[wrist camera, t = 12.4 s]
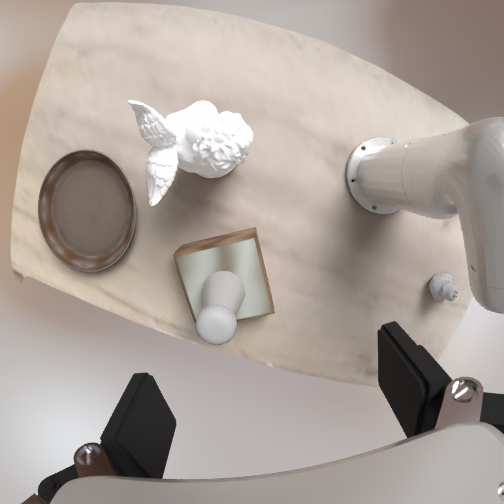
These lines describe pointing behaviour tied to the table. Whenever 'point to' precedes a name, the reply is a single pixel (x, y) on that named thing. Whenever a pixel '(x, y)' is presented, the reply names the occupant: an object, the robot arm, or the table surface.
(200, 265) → the square box
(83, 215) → the plant saucer
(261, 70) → the table surface
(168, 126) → the cherub figurine
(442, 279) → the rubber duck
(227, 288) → the salt shaker
